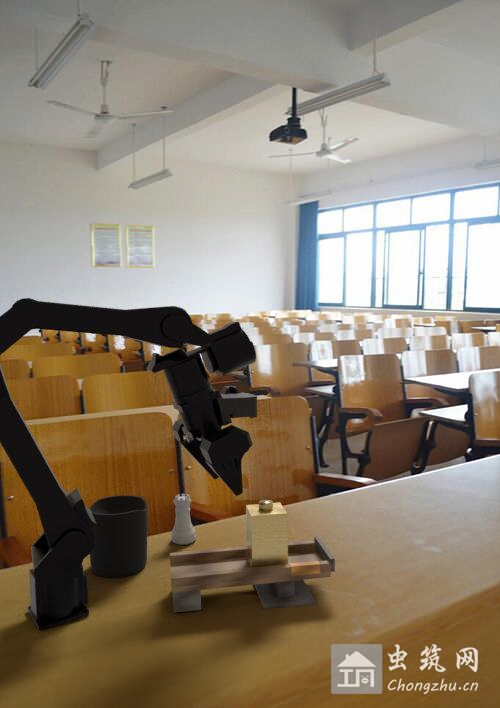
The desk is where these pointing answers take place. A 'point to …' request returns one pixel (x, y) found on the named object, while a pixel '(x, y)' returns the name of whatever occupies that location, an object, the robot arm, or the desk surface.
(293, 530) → the desk surface
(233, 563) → the balance beam
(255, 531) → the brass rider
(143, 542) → the pen holder
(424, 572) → the desk surface
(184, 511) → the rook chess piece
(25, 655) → the desk surface
